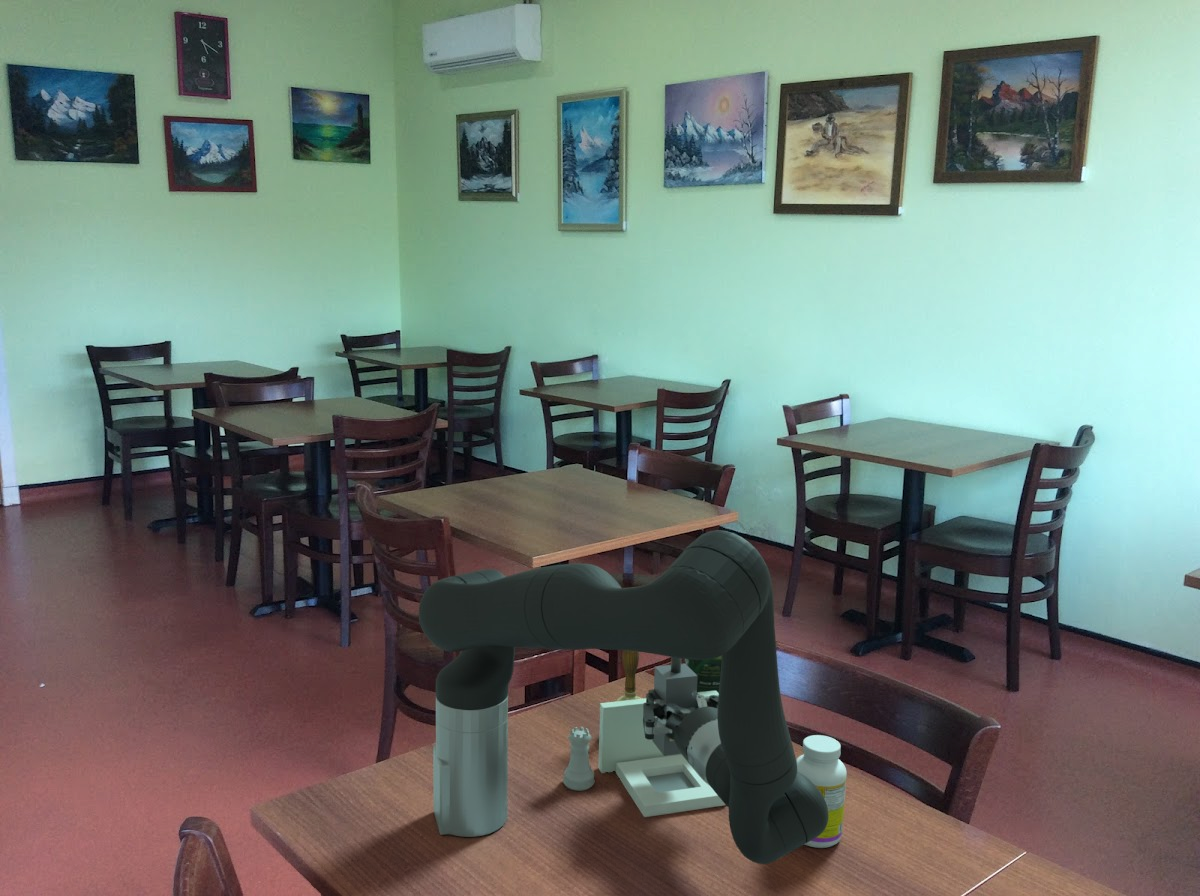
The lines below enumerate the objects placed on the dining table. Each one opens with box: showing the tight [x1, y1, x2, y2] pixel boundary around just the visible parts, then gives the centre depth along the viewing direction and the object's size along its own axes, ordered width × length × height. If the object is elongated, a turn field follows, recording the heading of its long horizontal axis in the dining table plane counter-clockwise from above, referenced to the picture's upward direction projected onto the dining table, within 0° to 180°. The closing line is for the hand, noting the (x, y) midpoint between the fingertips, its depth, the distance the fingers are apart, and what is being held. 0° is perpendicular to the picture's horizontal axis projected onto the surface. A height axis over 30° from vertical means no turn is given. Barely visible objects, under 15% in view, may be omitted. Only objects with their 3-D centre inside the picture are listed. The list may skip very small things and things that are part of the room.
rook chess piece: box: [562, 726, 596, 792], centre depth 139 cm, size 4×4×8 cm
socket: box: [597, 691, 726, 818], centre depth 139 cm, size 18×14×10 cm
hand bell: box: [616, 650, 643, 701], centre depth 154 cm, size 8×8×16 cm
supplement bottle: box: [796, 734, 848, 849], centre depth 127 cm, size 7×7×13 cm
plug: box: [653, 657, 698, 756], centre depth 136 cm, size 4×5×13 cm
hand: (667, 694), depth 139 cm, fingers closed on plug, 4 cm apart
